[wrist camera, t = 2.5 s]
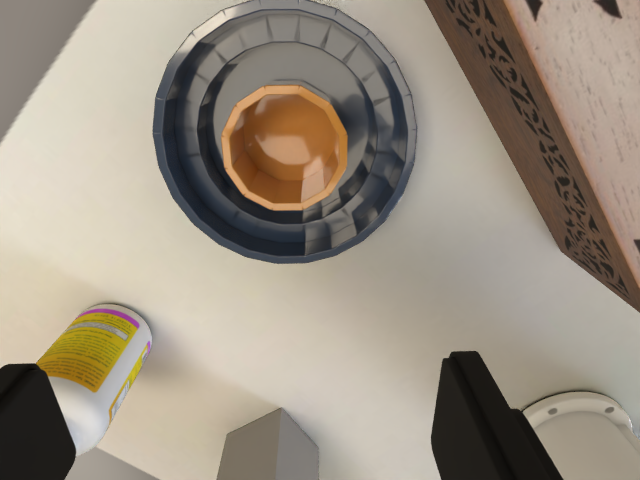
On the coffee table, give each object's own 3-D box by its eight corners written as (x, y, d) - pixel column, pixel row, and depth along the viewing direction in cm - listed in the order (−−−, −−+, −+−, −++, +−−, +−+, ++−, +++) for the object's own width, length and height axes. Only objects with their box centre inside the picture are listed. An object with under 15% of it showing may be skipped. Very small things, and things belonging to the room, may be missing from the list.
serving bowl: (408, 7, 25) (429, -5, 21) (392, 232, 32) (405, 262, 27) (161, 9, 25) (127, -2, 21) (195, 235, 32) (175, 265, 27)
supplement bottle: (64, 308, 34) (-66, 438, 22) (137, 294, 34) (43, 419, 22) (97, 367, 37) (-3, 511, 25) (166, 355, 36) (96, 496, 25)
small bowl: (341, 79, 27) (348, 84, 22) (340, 184, 30) (346, 210, 25) (233, 80, 27) (214, 85, 22) (243, 185, 29) (228, 211, 24)
